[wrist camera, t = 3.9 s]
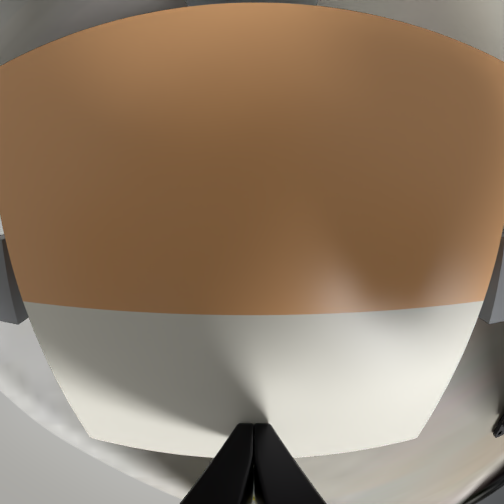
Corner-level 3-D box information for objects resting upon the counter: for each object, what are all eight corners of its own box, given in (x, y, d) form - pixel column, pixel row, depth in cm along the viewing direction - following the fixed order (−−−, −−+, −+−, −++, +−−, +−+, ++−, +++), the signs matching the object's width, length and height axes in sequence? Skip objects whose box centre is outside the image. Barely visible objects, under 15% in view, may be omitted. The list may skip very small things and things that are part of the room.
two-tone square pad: (478, 79, 5) (527, 75, 3) (414, 395, 9) (432, 433, 8) (25, 82, 5) (-23, 79, 4) (92, 395, 10) (74, 433, 8)
